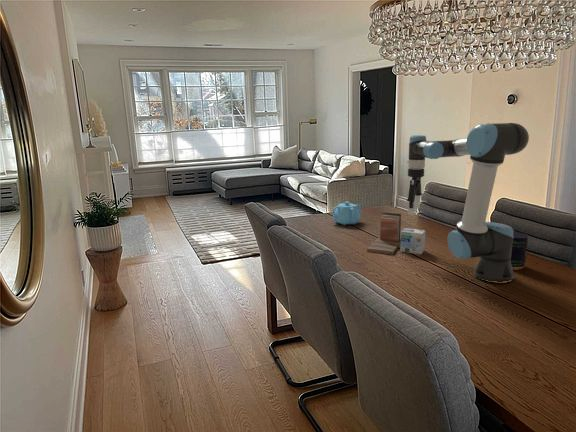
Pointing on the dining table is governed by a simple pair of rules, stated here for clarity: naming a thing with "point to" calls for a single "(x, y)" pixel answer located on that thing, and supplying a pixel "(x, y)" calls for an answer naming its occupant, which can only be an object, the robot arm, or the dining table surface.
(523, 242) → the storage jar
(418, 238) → the light bulb box
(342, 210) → the decorative pot
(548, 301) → the dining table surface
